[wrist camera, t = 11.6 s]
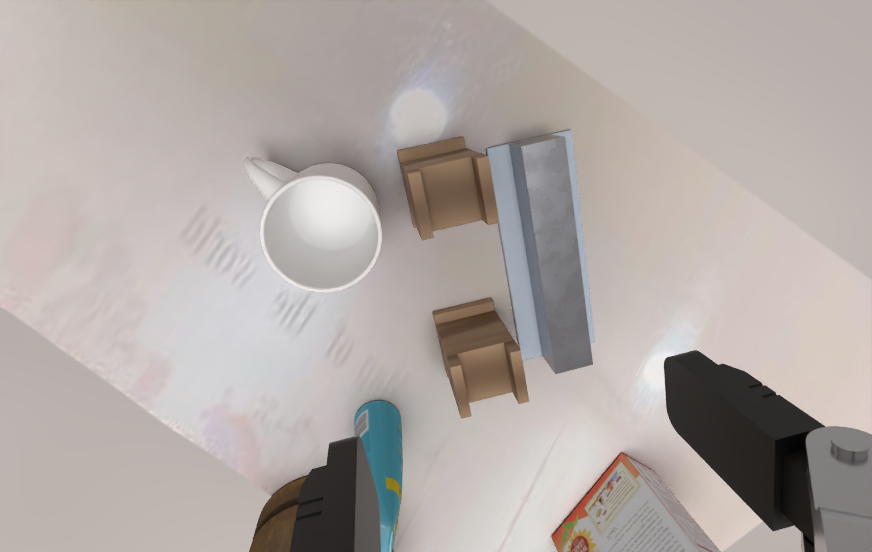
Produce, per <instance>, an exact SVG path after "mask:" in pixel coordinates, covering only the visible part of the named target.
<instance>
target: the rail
mask: <svg viewBox="0 0 872 552" xmlns="http://www.w3.org/2000/svg"><path fill="white" fill-rule="evenodd" d="M509 149H510V155H511V161H512V168H513V174H514V180H515V187H516V193H517V199H518V206H519V212H520V218H521V225H522V231H523V237H524V244H525V250H526V256H527V263H528V269H529V275H530V282H531V288H532V294H533V301H534V307H535V313H536V320H537V326H538V332H539V339H540V345H541V351H542V356H543V357H544V359H545V360H546V361H547V363H548V364H549V366H550V367H551V368H552V370H553V371H554V373H555V374H558V373H562V372H566V371H569V370H573V369H577V368H581V367H585V366H589V365H593V362H592V354H591V345H590V337H589V329H588V321H587V312H586V304H585V296H584V288H583V280H582V271H581V263H580V255H579V247H578V238H577V230H576V222H575V214H574V206H573V197H572V189H571V181H570V173H569V165H568V156H567V148H566V140H565V136H557V135H545V136H541V137H536V138H532V139H528V140H523V141H519V142H515V143H510V144H509Z"/></svg>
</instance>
